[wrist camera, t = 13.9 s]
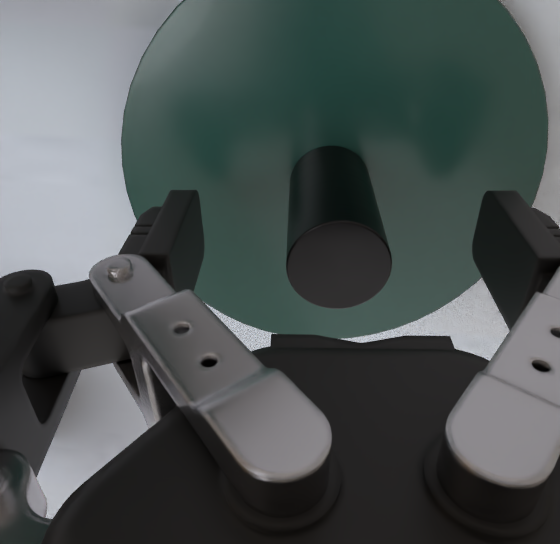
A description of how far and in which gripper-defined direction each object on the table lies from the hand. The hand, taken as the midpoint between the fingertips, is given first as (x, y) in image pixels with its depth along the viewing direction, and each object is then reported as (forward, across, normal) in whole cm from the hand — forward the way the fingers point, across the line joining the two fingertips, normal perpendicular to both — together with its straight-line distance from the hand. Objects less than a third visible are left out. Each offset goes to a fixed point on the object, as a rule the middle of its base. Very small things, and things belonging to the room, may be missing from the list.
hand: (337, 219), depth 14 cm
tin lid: (+3, 0, 0) cm, 3 cm away
